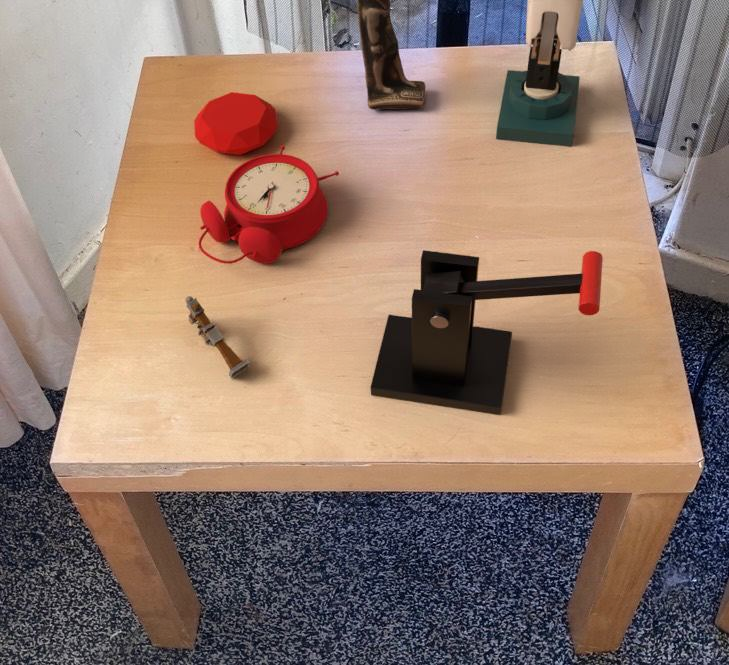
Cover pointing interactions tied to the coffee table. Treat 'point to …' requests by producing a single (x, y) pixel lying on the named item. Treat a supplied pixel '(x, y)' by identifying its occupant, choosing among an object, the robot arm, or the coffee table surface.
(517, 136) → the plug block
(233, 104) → the gemstone
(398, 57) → the statue
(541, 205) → the coffee table surface
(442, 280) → the red handled lever
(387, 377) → the black lever base
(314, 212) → the alarm clock
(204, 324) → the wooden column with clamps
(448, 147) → the coffee table surface
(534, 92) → the power button
